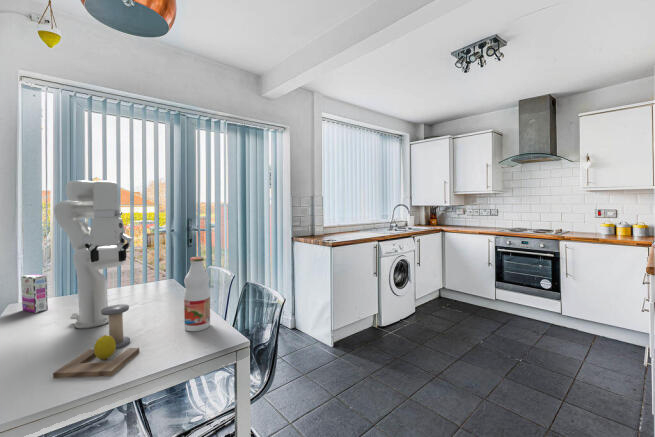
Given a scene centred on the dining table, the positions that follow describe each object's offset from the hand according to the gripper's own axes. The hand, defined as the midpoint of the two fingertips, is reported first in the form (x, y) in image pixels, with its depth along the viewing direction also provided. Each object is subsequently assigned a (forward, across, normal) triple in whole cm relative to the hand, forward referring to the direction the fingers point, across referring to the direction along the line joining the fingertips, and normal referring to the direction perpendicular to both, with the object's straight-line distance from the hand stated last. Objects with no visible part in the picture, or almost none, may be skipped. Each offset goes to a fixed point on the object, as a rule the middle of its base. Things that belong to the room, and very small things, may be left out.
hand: (108, 261), depth 111 cm
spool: (+28, -6, +7) cm, 30 cm away
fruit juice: (+28, -29, -6) cm, 41 cm away
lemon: (+28, -9, +18) cm, 35 cm away
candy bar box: (+28, +55, -32) cm, 69 cm away
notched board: (+28, -9, +20) cm, 36 cm away
